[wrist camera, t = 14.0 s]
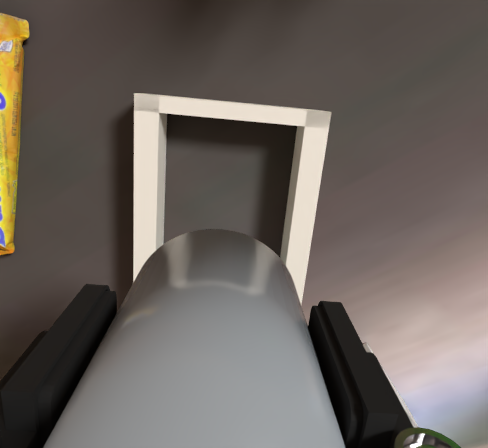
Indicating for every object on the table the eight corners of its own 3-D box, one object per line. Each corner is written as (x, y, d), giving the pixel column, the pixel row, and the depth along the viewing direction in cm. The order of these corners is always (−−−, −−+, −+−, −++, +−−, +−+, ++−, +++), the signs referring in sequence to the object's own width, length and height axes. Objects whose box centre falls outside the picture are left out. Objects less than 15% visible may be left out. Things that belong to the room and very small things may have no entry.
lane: (321, 110, 27) (339, 113, 22) (281, 374, 33) (289, 420, 29) (145, 93, 26) (124, 92, 21) (141, 365, 33) (126, 411, 28)
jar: (312, 233, 12) (529, 626, 3) (288, 381, 13) (384, 902, 5) (129, 218, 11) (-202, 600, 3) (128, 371, 13) (-78, 904, 4)
